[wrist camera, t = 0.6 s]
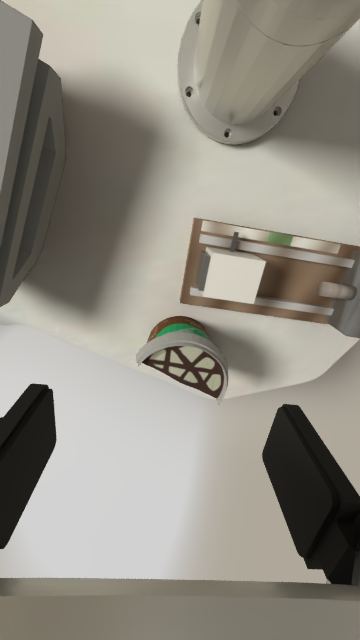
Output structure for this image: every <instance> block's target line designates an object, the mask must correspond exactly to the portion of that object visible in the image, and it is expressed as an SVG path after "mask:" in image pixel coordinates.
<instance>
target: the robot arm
mask: <svg viewBox="0 0 360 640" xmlns="http://www.w3.org/2000/svg"><path fill="white" fill-rule="evenodd" d="M359 19H360V0H201V1H200V3H199V4H198V5H197V6H196V8H195V9H194V11H193V13H192V15H191V16H190V18H189V20H188V22H187V25H186V27H185V30H184V33H183V36H182V39H181V45H180V50H179V57H178V83H179V88H180V94H181V98H182V101H183V103H184V106H185V109H186V111H187V113H188V115H189V116H190V118H191V120H192V121H193V122H194V124H195V125H196V126H197V128H198V129H199V130H200V131H202V132H203V133H204V134H205V135H206V136H208V137H209V138H211V139H213V140H215V141H217V142H221V143H225V144H237V145H238V144H243V143H248V142H250V141H253V140H255V139H257V138H259V137H261V136H262V135H264V134H265V133H267V132H268V131H269V130H270V129H271V128H272V127H274V126H275V125H276V124H277V123H278V122H279V120H280V119H281V118H282V117H283V116H284V114H285V113H286V111H287V109H288V108H289V106H290V104H291V103H292V100H293V98H294V96H295V93H296V91H297V88H298V85H299V81H300V78H301V77H302V76H303V75H304V74H305V73H306V72H307V71H308V70H309V69H310V68H311V67H312V66H313V65H314V64H315V63H316V62H317V61H318V60H319V59H320V58H321V57H322V56H323V55H324V54H325V53H326V52H327V51H328V50H329V49H330V48H331V47H332V46H333V45H334V44H335V43H336V42H337V41H338V40H339V39H340V38H341V37H342V36H343V35H344V34H345V33H346V32H347V31H348V30H349V29H350V28H351V27H352V26H353V25H354V24H355V23H356V22H357V21H358V20H359ZM197 22H200V23H199V25H198V24H196V23H197ZM187 93H190V94H191V97H187V95H186V94H187ZM273 112H276V116H274V114H273ZM225 133H228V137H225ZM55 444H56V427H55V415H54V400H53V391H52V389H49V387H48V385H43V384H42V385H41V384H30V386H28V388H27V389H26V390H25V391H24V393H23V394H22V395H21V396H20V397H19V399H18V400H17V401H16V402H15V404H14V405H13V406H12V407H11V409H10V410H9V411H8V412H7V414H6V415H5V416H4V417H1V418H0V549H4V547H5V546H6V545H7V543H8V542H9V540H10V537H11V535H12V533H13V531H14V529H15V527H16V525H17V523H18V521H19V519H20V517H21V515H22V513H23V511H24V509H25V507H26V505H27V503H28V501H29V499H30V497H31V494H32V493H33V490H34V488H35V486H36V484H37V482H38V480H39V478H40V476H41V474H42V472H43V470H44V468H45V466H46V464H47V462H48V460H49V458H50V456H51V454H52V452H53V449H54V447H55ZM262 457H263V462H264V465H265V467H266V470H267V473H268V475H269V478H270V481H271V483H272V486H273V488H274V491H275V494H276V496H277V499H278V502H279V504H280V507H281V510H282V512H283V515H284V518H285V520H286V523H287V526H288V528H289V531H290V534H291V536H292V539H293V541H294V544H295V546H296V550H297V552H298V554H299V555H300V556H301V557H303V558H304V561H305V563H306V566H307V568H308V569H323V571H324V573H325V576H326V578H327V583H326V584H319V583H318V584H317V583H297V582H256V581H215V580H162V579H97V578H95V579H94V578H0V640H360V496H359V495H358V493H357V492H356V490H355V489H354V487H353V486H352V484H351V483H350V481H349V480H348V478H347V477H346V475H345V474H344V472H343V471H342V469H341V468H340V466H339V465H338V463H337V462H336V460H335V459H334V457H333V456H332V455H331V453H330V451H329V450H328V449H327V447H326V445H325V444H324V443H323V441H322V440H321V438H320V436H319V435H318V434H317V432H316V431H315V429H314V428H313V426H312V425H311V423H310V422H309V420H308V419H307V417H306V416H305V414H304V413H303V411H302V410H301V408H300V407H299V406H298V405H289V404H283V405H282V407H280V408H278V410H277V413H276V416H275V419H274V421H273V424H272V427H271V430H270V433H269V435H268V438H267V441H266V444H265V447H264V449H263V454H262Z"/></svg>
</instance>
